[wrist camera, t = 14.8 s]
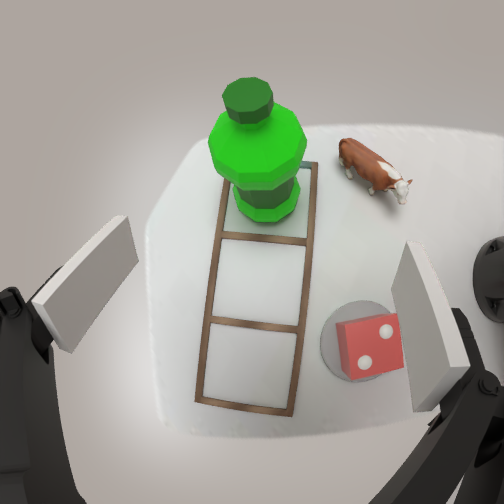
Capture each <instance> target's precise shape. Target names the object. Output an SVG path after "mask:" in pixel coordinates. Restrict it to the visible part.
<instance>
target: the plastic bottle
mask: <svg viewBox="0 0 504 504" xmlns="http://www.w3.org/2000/svg"><path fill="white" fill-rule="evenodd" d="M222 98H223V100H224V103H225V107H226V109H227V111H225V112H224V113H222V114H221V115H220V116H219V118H218V120H217V122H216V124H215V126H214V128H213V130H212V132H211V134H210V136H209V140H208V145H209V149H210V152H211V156H212V160H213V164H214V167H215V169H216V171H217V173H219V174H220V175H221V176H222V177H224V178H225V179H227V180H228V181H230V182H231V183H233V184H234V187H233V193H234V196H235V200H236V203H237V207H238V209H239V211H241V212H242V213H244V214H245V215H247V216H248V217H249V218H251V219H252V220H254V221H255V222H277V221H279V220H280V219H282V218H283V217H285V216H286V215H288V214H289V213H290V212H292V211H293V210H294V209H295V206H296V203H297V200H298V197H299V194H300V186H299V184H298V181H297V178H296V176H295V175H296V174H297V172H298V170H299V167H300V164H301V161H302V158H303V155H304V152H305V149H306V146H307V139H306V136H305V134H304V132H303V130H302V128H301V126H300V124H299V122H298V120H297V117H296V116H295V114H294V113H293V112H292V111H290V110H288V109H287V108H285V107H283V106H281V105H279V104H277V103H275V102H274V101H273V92H272V90H271V88H270V86H269V84H268V83H267V82H265V81H263V80H261V79H258V78H256V77H251V78H240V79H238V80H236V81H234V82H232V83H231V84H229V85H227V87H226V89H225V91H224V93H223V94H222Z"/></svg>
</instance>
